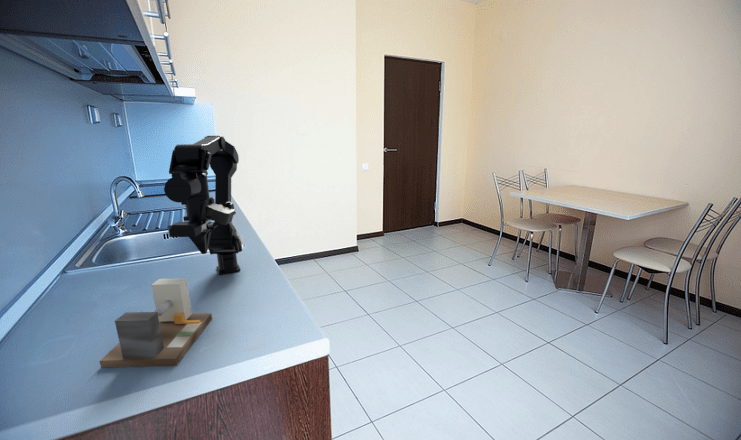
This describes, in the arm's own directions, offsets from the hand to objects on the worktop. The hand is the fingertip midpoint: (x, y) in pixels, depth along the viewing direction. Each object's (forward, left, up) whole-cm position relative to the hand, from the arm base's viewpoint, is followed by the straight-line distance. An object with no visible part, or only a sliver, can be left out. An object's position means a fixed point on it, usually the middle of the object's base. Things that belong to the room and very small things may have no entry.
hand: (204, 253), depth 89 cm
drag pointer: (+17, -6, -10) cm, 20 cm away
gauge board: (+18, -11, -12) cm, 25 cm away
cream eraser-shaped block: (+14, -9, -10) cm, 20 cm away
